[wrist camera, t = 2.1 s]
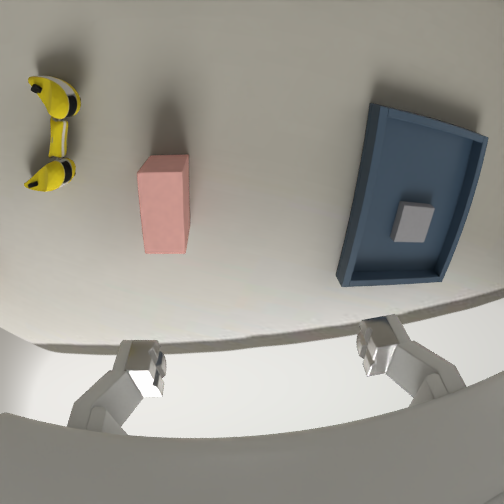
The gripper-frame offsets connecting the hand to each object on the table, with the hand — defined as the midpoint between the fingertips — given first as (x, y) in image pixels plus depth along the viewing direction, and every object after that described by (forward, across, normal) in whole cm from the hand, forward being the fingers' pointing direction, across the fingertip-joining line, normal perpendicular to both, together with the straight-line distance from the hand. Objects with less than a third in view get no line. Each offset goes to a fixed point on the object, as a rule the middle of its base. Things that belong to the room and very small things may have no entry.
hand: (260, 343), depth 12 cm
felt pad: (+17, -16, +4) cm, 24 cm away
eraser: (+16, +6, -1) cm, 17 cm away
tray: (+17, -17, +2) cm, 24 cm away
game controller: (+16, +15, -8) cm, 24 cm away
